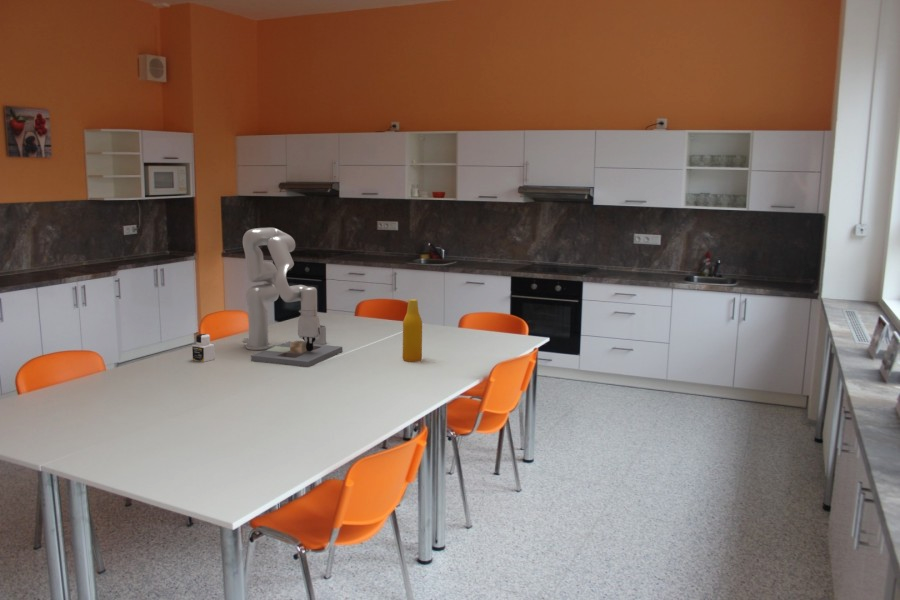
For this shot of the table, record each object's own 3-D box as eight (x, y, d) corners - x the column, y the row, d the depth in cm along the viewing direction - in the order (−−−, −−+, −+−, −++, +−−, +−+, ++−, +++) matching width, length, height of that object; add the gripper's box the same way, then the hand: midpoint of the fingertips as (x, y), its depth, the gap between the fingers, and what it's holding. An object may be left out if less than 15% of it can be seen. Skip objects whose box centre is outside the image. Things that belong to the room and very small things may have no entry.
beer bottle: (417, 362, 361) (418, 302, 356) (399, 361, 364) (400, 300, 359) (424, 358, 370) (425, 299, 365) (406, 356, 373) (407, 297, 368)
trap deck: (251, 360, 359) (251, 355, 358) (289, 346, 390) (289, 341, 390) (308, 367, 349) (308, 361, 349) (342, 351, 381) (342, 346, 380)
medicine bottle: (192, 360, 357) (191, 335, 355) (203, 357, 364) (203, 332, 362) (203, 362, 354) (202, 336, 352) (215, 359, 360) (214, 334, 358)
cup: (323, 345, 394) (322, 328, 393) (304, 344, 396) (304, 327, 395) (328, 342, 401) (328, 325, 400) (310, 341, 403) (310, 324, 402)
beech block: (290, 352, 366) (290, 342, 366) (296, 349, 372) (296, 340, 371) (301, 353, 365) (301, 343, 364) (307, 350, 371) (307, 341, 370)
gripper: (291, 313, 363) (291, 351, 366) (319, 315, 358) (319, 353, 361) (299, 310, 370) (299, 348, 373) (327, 312, 365) (327, 350, 368)
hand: (309, 350), depth 367 cm, fingers closed
